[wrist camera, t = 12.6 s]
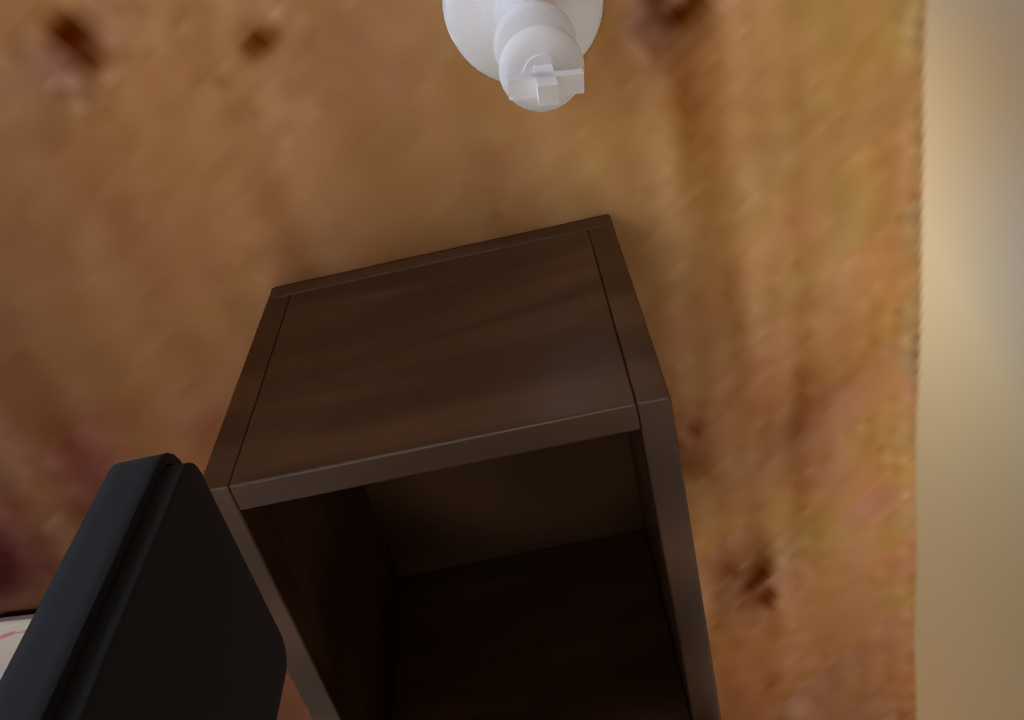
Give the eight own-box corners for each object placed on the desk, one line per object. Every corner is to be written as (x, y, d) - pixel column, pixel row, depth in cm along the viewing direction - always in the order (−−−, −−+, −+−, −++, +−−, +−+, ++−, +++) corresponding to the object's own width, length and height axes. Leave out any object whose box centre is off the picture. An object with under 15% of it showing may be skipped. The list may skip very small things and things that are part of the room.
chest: (271, 287, 34) (195, 493, 24) (609, 213, 33) (670, 396, 23) (388, 580, 41) (365, 824, 32) (664, 526, 41) (728, 761, 31)
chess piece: (432, -80, 28) (420, -14, 19) (600, -96, 28) (662, -38, 19) (452, 88, 30) (448, 211, 22) (605, 73, 30) (662, 191, 22)
